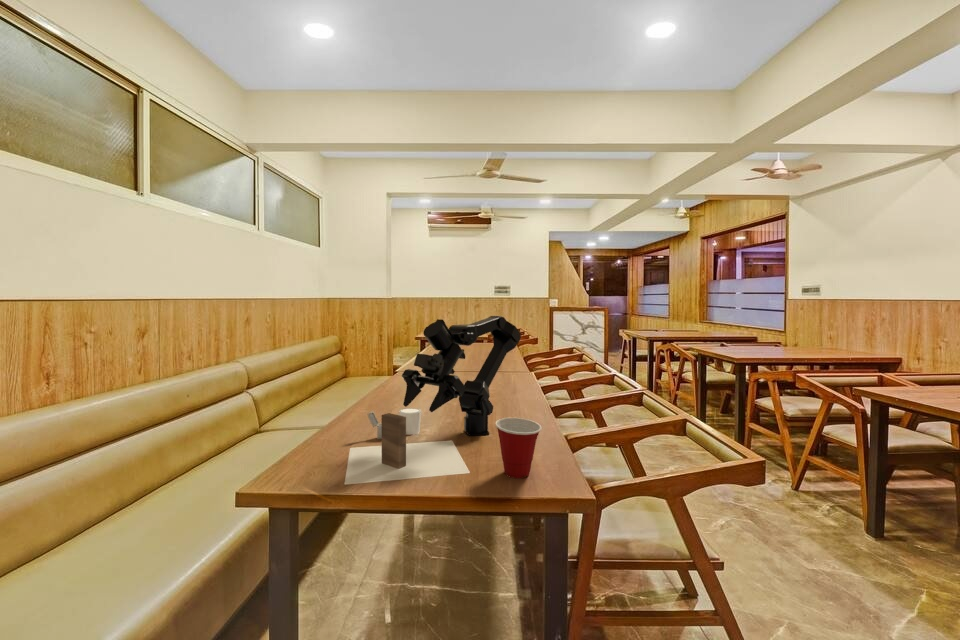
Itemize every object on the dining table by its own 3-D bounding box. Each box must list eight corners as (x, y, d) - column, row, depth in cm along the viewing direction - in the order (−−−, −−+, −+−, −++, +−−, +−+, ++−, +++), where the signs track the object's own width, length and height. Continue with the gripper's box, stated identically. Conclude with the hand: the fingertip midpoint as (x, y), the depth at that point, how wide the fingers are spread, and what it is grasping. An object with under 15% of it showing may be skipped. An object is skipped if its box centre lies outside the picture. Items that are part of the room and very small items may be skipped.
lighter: (392, 438, 126) (392, 411, 126) (391, 440, 124) (391, 413, 124) (369, 437, 126) (369, 411, 126) (367, 439, 125) (367, 412, 124)
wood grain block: (389, 460, 108) (389, 412, 107) (406, 465, 104) (406, 416, 104) (381, 463, 106) (381, 415, 105) (398, 469, 102) (398, 419, 102)
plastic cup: (528, 487, 93) (529, 433, 93) (486, 476, 99) (486, 425, 98) (548, 471, 102) (549, 421, 102) (508, 461, 108) (508, 414, 108)
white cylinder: (425, 431, 133) (425, 409, 133) (413, 437, 127) (413, 414, 126) (407, 428, 136) (407, 406, 136) (394, 434, 130) (394, 411, 129)
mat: (452, 441, 123) (452, 440, 123) (470, 474, 100) (470, 472, 100) (350, 449, 117) (350, 447, 117) (344, 486, 93) (344, 484, 93)
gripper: (406, 340, 120) (375, 385, 111) (458, 344, 109) (428, 395, 100) (426, 365, 127) (398, 409, 118) (476, 371, 116) (450, 421, 107)
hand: (417, 408), depth 111 cm, fingers open, 9 cm apart
